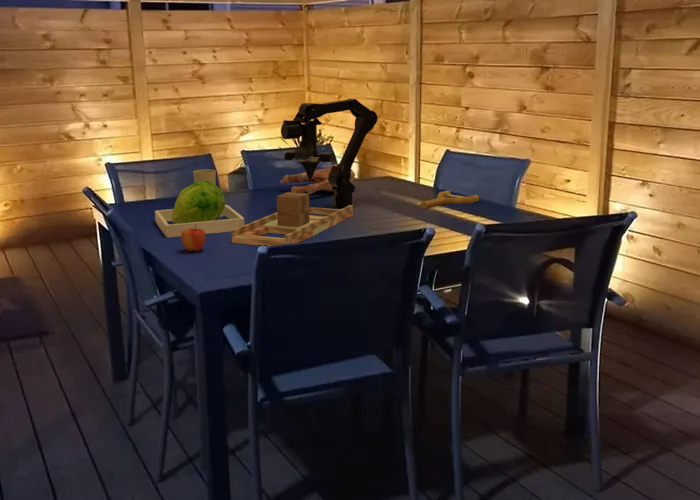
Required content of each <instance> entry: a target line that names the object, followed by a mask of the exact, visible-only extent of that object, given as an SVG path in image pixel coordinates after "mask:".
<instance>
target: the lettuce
mask: <svg viewBox="0 0 700 500" xmlns="http://www.w3.org/2000/svg"><path fill="white" fill-rule="evenodd" d="M224 205H226V199H225V195H224V193H223V192H222V190H221V189H220V187H218V186H217V185H214V184H212V183H211V182H209V181H199V182H196V183H195V182H194V183H191V184H190V185H188V186H187V187H184V188H183V189H182V190H181V191H180V193H179V194H178V196H177V198H176V200H175V202H174V206H173V208H172V209H173V212H172V221H171V222H172V224H181V223H192V222H204V221H215V220H218V218H220V217H219V216H220V215H221V213H222V212H223V210H224Z"/></svg>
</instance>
